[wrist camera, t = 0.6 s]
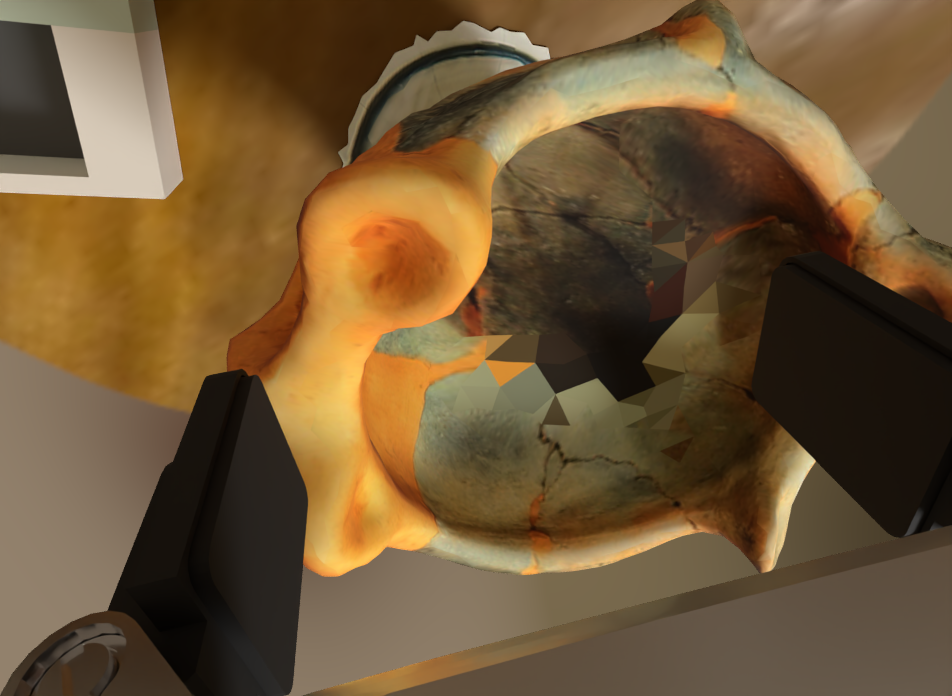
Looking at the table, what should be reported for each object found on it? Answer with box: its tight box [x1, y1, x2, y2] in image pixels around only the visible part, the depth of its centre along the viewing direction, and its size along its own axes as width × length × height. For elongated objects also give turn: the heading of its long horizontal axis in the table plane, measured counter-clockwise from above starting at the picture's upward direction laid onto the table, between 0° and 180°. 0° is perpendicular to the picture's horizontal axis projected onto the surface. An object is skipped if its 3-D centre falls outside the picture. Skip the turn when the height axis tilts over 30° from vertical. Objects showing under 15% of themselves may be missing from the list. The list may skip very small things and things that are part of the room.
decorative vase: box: [227, 0, 952, 576], centre depth 26 cm, size 21×23×28 cm
